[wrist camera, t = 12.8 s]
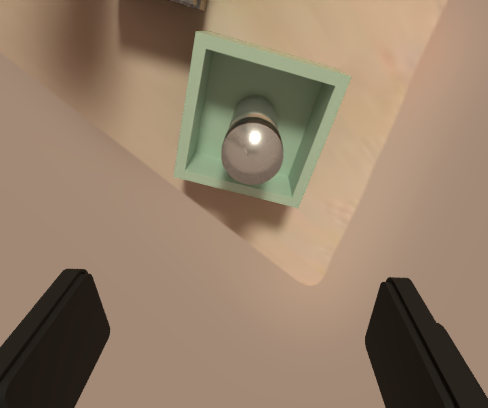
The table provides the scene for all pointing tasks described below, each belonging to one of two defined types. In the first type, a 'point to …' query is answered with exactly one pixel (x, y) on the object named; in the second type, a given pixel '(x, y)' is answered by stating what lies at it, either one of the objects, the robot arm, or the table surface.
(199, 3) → the socket block
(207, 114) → the bin
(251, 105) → the strut
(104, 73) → the table surface
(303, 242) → the table surface
